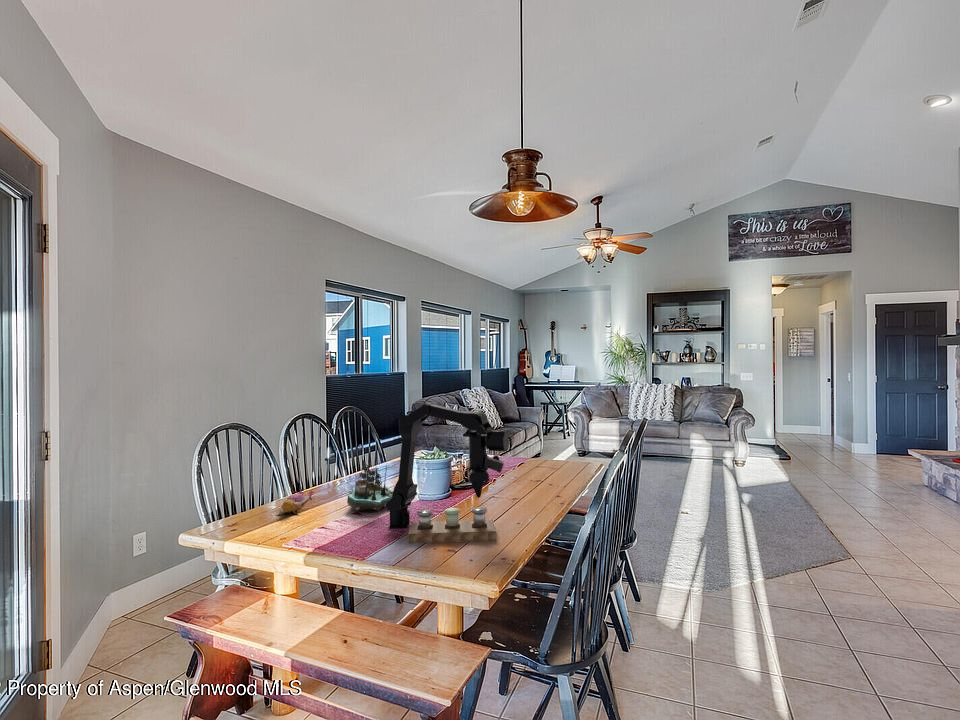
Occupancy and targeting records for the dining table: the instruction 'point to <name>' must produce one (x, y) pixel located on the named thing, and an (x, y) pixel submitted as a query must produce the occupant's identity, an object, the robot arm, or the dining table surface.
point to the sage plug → (452, 516)
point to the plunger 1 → (424, 518)
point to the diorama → (369, 492)
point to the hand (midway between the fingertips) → (478, 497)
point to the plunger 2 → (479, 515)
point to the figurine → (294, 502)
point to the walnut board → (452, 532)
